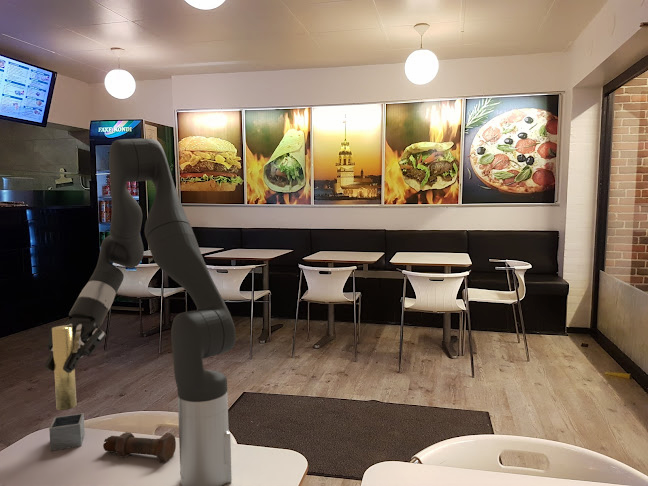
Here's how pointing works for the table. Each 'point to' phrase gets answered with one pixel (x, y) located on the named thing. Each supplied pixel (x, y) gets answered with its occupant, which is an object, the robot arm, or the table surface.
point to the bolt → (141, 446)
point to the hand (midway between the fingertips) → (57, 370)
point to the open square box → (67, 431)
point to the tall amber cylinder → (63, 380)
